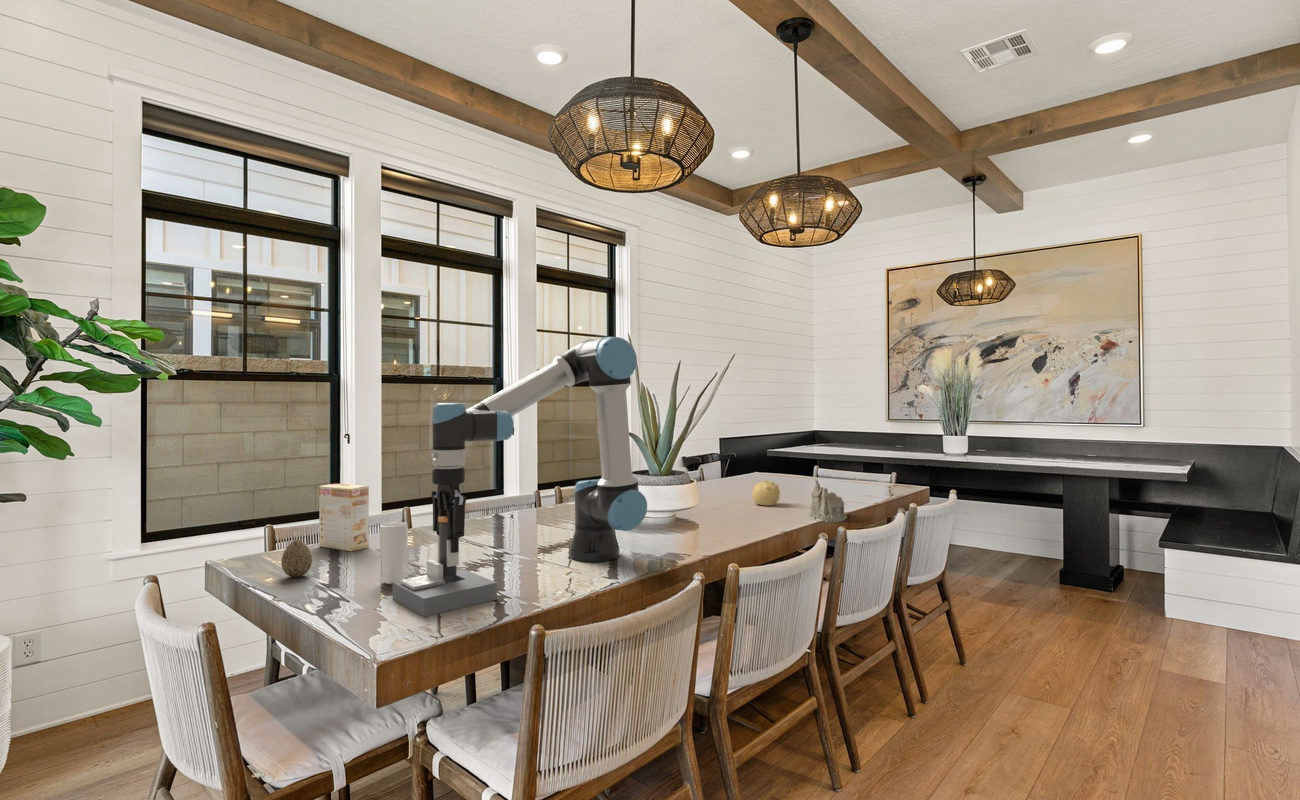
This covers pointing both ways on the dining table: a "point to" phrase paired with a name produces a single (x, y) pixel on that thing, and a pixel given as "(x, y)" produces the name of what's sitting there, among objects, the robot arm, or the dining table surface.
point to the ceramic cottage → (826, 505)
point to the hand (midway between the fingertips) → (448, 563)
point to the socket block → (447, 594)
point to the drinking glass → (393, 550)
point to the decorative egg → (296, 559)
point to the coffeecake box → (344, 516)
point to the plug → (444, 547)
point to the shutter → (426, 577)
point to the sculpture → (766, 493)
